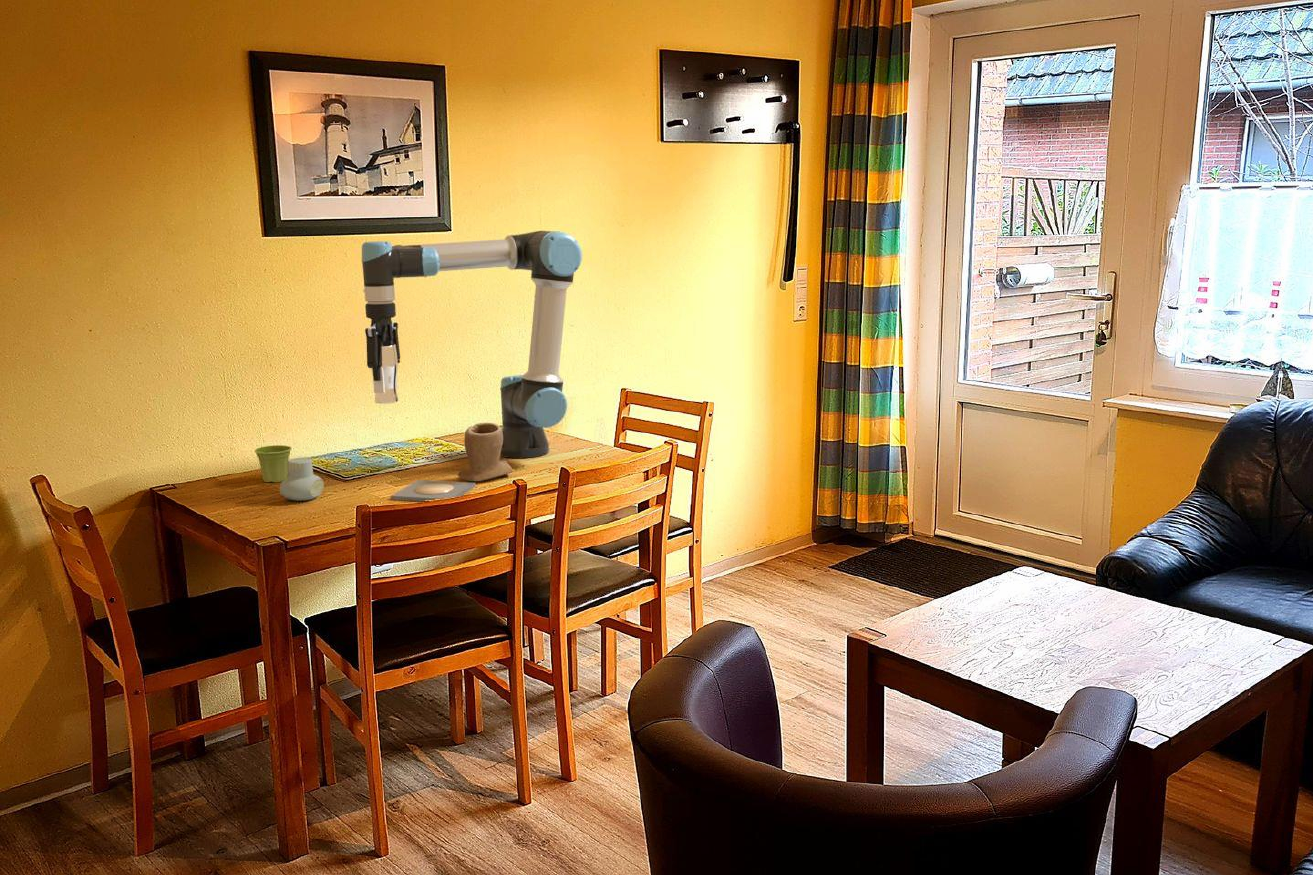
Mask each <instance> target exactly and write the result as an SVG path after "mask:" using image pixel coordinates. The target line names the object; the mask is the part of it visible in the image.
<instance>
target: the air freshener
mask: <svg viewBox="0 0 1313 875" xmlns="http://www.w3.org/2000/svg"><path fill="white" fill-rule="evenodd" d="M313 468H314V467H313V459H311V458H310V457H295V458H291V459H289V461H288V477H287V478H285V479H284V480H283V481H282V482H281V483H280V486H279V493H280V494H281V496H283V497H284V498H285V499H288V500H290V501H296V502H301V501H302V502H303V501H311V500H314V499H316V498H317V497H319V496H320V495H321V493H322V492H323V490H324V487H325V486H324V484H325V483H324V480H323V479H322V478H321V477H320V476H319V475H316V474H314V469H313Z"/></svg>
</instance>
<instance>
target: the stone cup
mask: <svg viewBox="0 0 1313 875" xmlns="http://www.w3.org/2000/svg"><path fill="white" fill-rule="evenodd" d="M463 441H464V448H465V449H464V450H465V453H466V455H467V458H468V463H469V467H468V468H465V469H462V470H459V471H458V472H457V476H458V477H459V478H460V479H462V480H465V481H469V482H481V481H486V480H490V479H494V478H497V477H498V478H499V477H501V476H505V475H508V474H511V473H513V471H514V470H513V468H512V466H510V464H509V463H508V461H507V460H506V459H500V458H501V456H500V453H501V448H502V445H503V432H502V427H501V426H500V424H497V423H494V422H479V423H476V424H474V425H473V426H468V428H467V429H466V430H465V433H464V440H463Z"/></svg>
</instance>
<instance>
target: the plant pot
mask: <svg viewBox="0 0 1313 875" xmlns="http://www.w3.org/2000/svg"><path fill="white" fill-rule="evenodd" d="M292 449H293V448H292V446H289V445H283V444H282V445H281V444H278V445H277V444H276V445H265V446H260V447H257V448H255V449H254V453H256V456H257V459H258V461H259V467H260V470H261V474H262V479H263V482H266V483H270V482H273V483H280V482H281V483H282V481H283V480H284V479H285V478H287V477H288V476H289V474H288V461H289V460H290V454H291V450H292Z"/></svg>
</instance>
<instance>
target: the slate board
mask: <svg viewBox="0 0 1313 875" xmlns="http://www.w3.org/2000/svg"><path fill="white" fill-rule="evenodd" d="M474 488H476V482H470V481H469V482H466V481H447V480H431V479H430V480H426V479H418V480H416V481H413V482H412V483H411V484H409V485H407V486H406V487H404V488H402V489H401V490H399V491H397V492H395V493H393V494H392V495H391V496H390V498H391V500H393V501H406V502H407V501H409V502H410V501H411V502H424V501H425V500H435V499H445V498H452V497H459V498H460V497H461V496H464V495H465V494H467V493H468V492H469V491H471V490H473V489H474Z"/></svg>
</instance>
